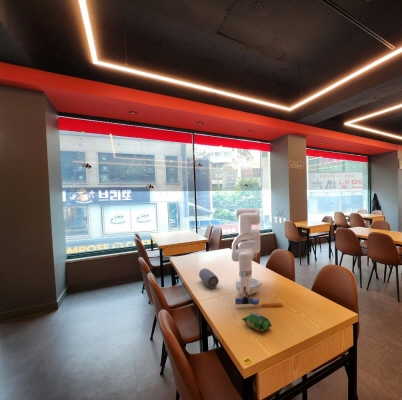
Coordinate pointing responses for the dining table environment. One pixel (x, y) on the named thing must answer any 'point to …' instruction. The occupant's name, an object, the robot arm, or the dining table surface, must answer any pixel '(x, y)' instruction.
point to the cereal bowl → (253, 286)
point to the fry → (271, 304)
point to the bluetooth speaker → (208, 278)
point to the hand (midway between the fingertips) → (245, 302)
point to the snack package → (257, 322)
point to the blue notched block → (250, 301)
